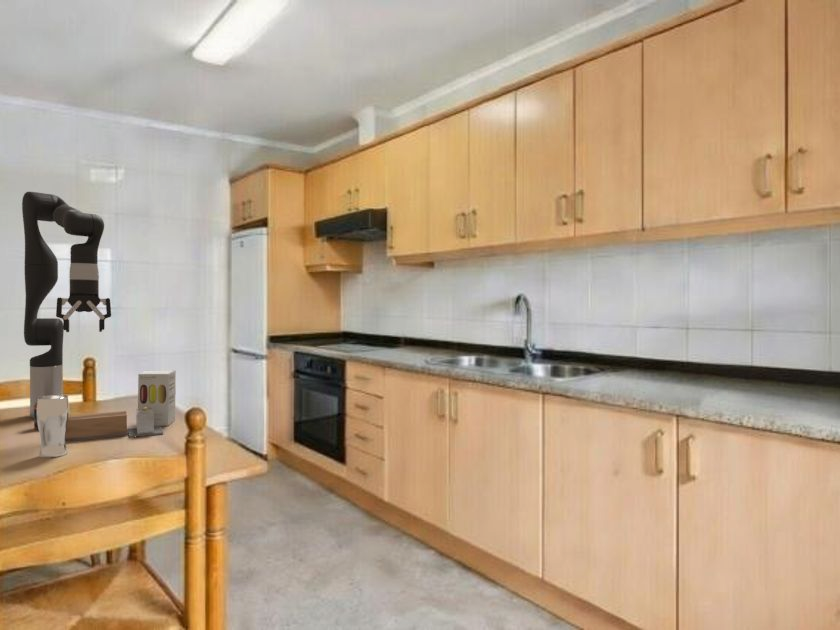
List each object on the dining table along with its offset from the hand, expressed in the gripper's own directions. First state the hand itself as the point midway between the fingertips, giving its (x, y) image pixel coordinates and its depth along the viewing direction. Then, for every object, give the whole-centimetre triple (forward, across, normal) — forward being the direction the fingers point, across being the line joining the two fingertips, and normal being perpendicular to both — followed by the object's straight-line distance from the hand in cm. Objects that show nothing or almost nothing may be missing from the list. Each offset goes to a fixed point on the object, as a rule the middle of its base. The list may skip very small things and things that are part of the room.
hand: (84, 331), depth 165 cm
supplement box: (+30, +20, 0) cm, 36 cm away
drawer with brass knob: (+30, +16, -12) cm, 36 cm away
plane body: (+30, +2, -10) cm, 32 cm away
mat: (+30, +16, -12) cm, 36 cm away
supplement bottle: (+30, -11, +8) cm, 33 cm away
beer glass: (+30, -6, -27) cm, 41 cm away
